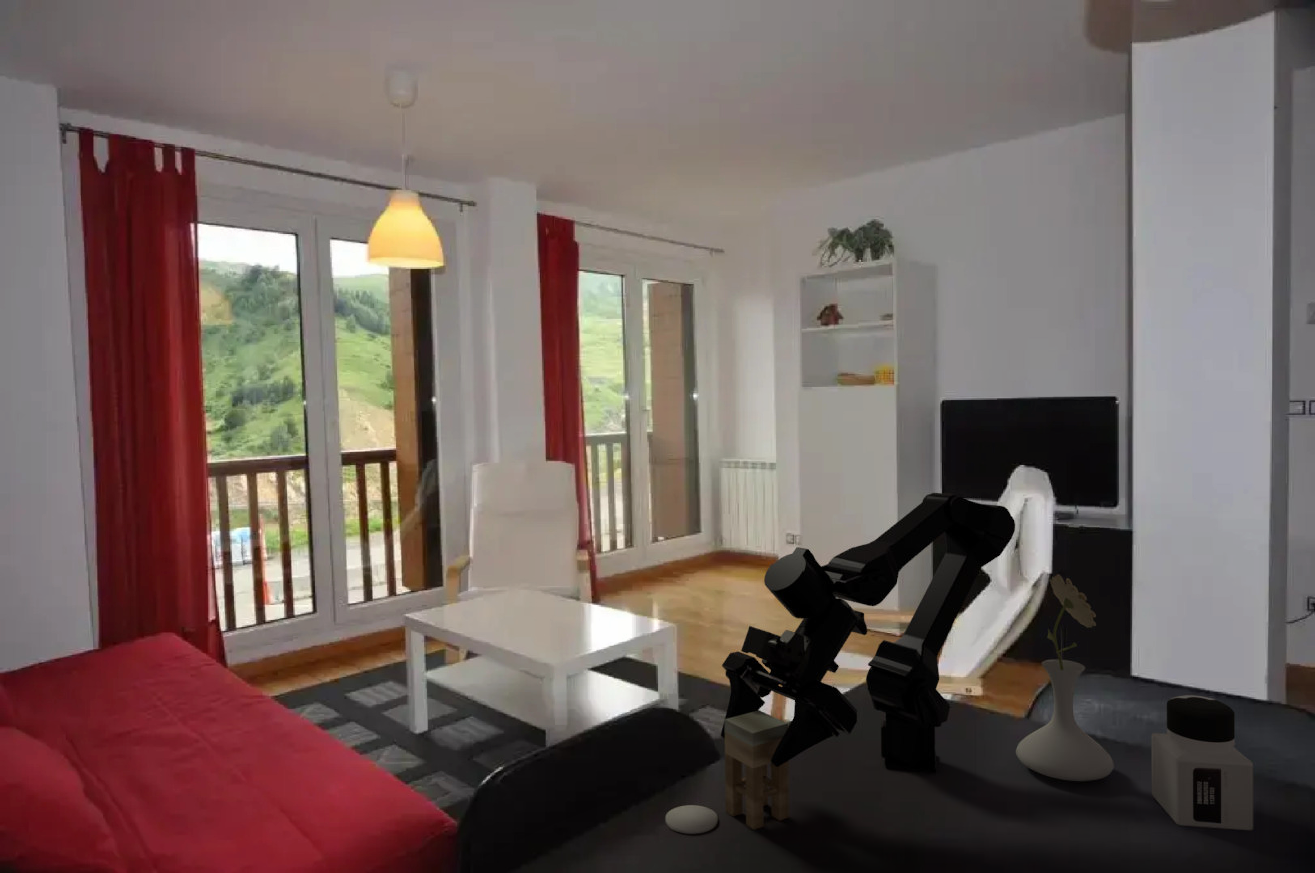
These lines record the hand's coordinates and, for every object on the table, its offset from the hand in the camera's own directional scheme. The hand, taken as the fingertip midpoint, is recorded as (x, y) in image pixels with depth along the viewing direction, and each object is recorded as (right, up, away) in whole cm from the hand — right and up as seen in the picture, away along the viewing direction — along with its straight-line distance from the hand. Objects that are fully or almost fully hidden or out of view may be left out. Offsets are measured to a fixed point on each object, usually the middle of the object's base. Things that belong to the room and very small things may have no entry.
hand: (747, 750), depth 96 cm
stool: (+1, -8, +1) cm, 8 cm away
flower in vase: (+42, -7, +12) cm, 45 cm away
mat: (-7, -8, 0) cm, 10 cm away
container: (+52, -7, 0) cm, 53 cm away
